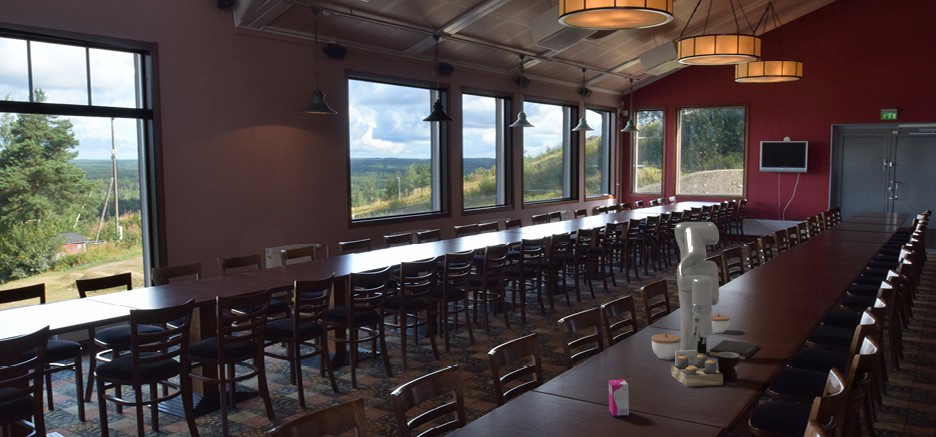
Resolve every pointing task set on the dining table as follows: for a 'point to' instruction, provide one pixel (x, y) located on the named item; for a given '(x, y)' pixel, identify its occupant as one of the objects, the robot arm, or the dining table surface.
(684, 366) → the button
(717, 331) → the lidded jar
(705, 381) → the button board
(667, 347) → the lidded bowl
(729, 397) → the dining table surface
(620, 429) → the dining table surface
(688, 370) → the button
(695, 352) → the card
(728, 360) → the coffee mug
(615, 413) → the supplement box
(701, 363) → the button
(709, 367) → the button
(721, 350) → the hardcover book
